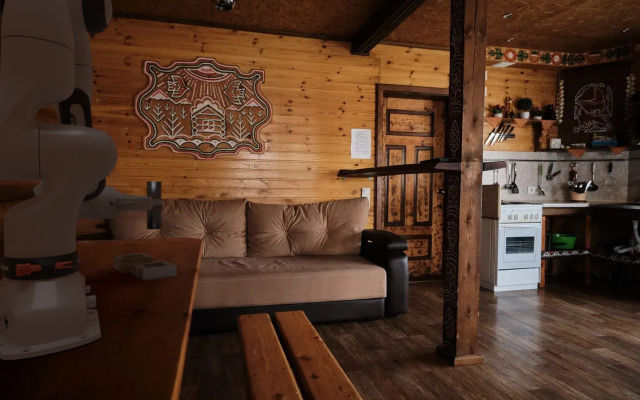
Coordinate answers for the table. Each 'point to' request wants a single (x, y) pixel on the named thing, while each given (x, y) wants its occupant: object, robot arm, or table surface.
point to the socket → (154, 270)
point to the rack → (130, 261)
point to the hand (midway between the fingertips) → (157, 201)
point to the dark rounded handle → (155, 213)
